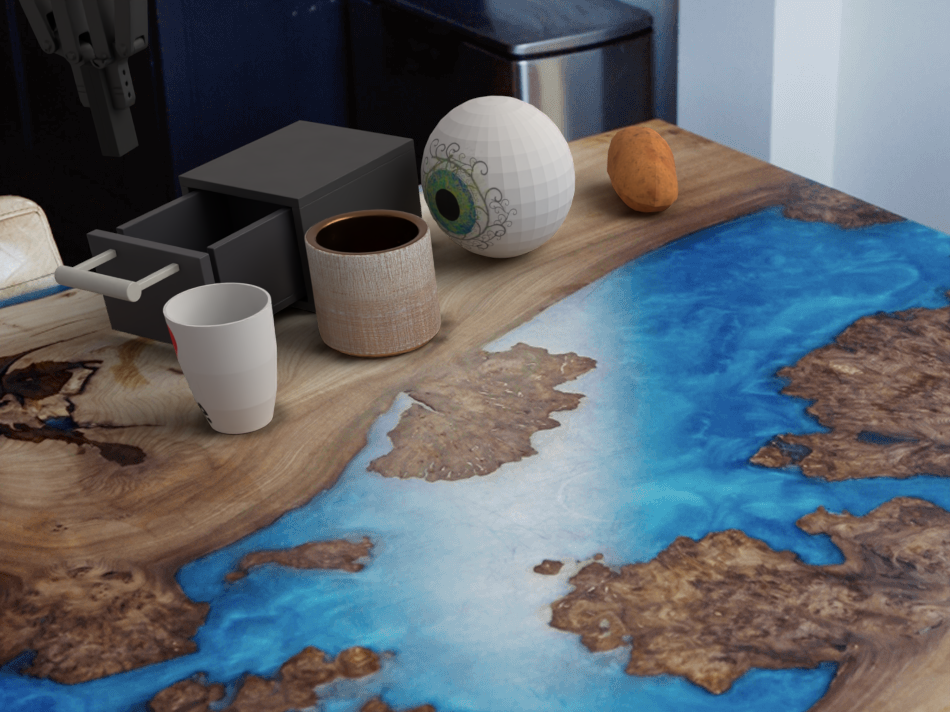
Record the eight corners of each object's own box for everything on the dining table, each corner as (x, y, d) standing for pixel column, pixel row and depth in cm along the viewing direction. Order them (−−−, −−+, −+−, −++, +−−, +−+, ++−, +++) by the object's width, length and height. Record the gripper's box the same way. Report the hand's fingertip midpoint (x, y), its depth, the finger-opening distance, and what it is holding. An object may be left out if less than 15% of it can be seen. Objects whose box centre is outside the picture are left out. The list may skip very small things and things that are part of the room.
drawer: (170, 387, 118) (145, 286, 112) (59, 358, 122) (29, 259, 117) (337, 286, 134) (323, 193, 128) (233, 263, 138) (215, 172, 133)
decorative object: (399, 252, 142) (380, 99, 133) (514, 213, 150) (503, 66, 141) (493, 296, 134) (479, 135, 125) (609, 251, 142) (604, 98, 133)
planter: (458, 314, 131) (448, 212, 125) (417, 366, 122) (403, 260, 116) (349, 304, 133) (333, 204, 127) (300, 355, 124) (281, 250, 118)
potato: (661, 178, 159) (670, 115, 154) (681, 229, 150) (692, 164, 145) (598, 174, 157) (605, 110, 153) (615, 225, 148) (623, 160, 144)
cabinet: (317, 313, 131) (297, 198, 125) (202, 287, 136) (177, 175, 130) (425, 246, 144) (413, 138, 137) (316, 224, 149) (299, 119, 142)
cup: (218, 391, 119) (192, 279, 113) (308, 400, 118) (287, 286, 112) (173, 438, 113) (143, 322, 107) (267, 447, 111) (243, 330, 105)
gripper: (149, -215, 95) (221, 140, 109) (-20, -217, 98) (72, 130, 112) (88, -199, 89) (172, 172, 104) (-90, -202, 92) (17, 161, 106)
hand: (120, 150), depth 108 cm, fingers closed
